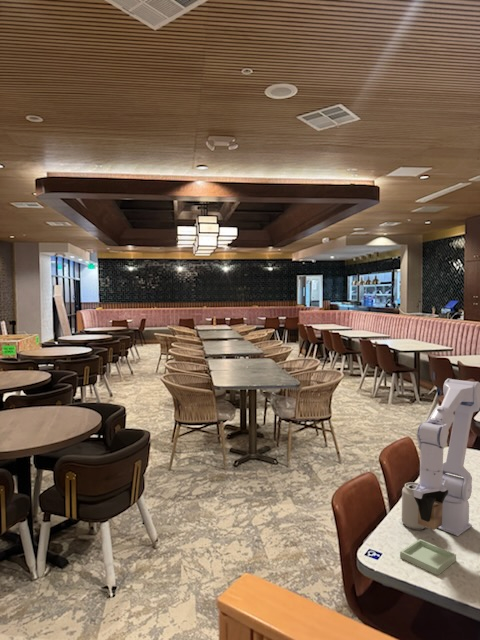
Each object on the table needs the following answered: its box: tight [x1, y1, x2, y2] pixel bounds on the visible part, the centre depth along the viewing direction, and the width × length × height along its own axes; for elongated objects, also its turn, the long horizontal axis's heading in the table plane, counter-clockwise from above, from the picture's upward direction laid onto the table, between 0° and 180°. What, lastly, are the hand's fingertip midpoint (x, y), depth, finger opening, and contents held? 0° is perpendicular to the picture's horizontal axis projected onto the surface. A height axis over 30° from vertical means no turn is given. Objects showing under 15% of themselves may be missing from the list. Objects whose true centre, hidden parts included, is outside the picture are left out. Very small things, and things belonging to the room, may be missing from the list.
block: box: [418, 501, 443, 531], centre depth 123 cm, size 4×4×6 cm
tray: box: [399, 538, 457, 576], centre depth 118 cm, size 10×10×2 cm
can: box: [401, 481, 426, 531], centre depth 136 cm, size 8×8×12 cm
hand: (429, 517), depth 123 cm, fingers closed on block, 4 cm apart
